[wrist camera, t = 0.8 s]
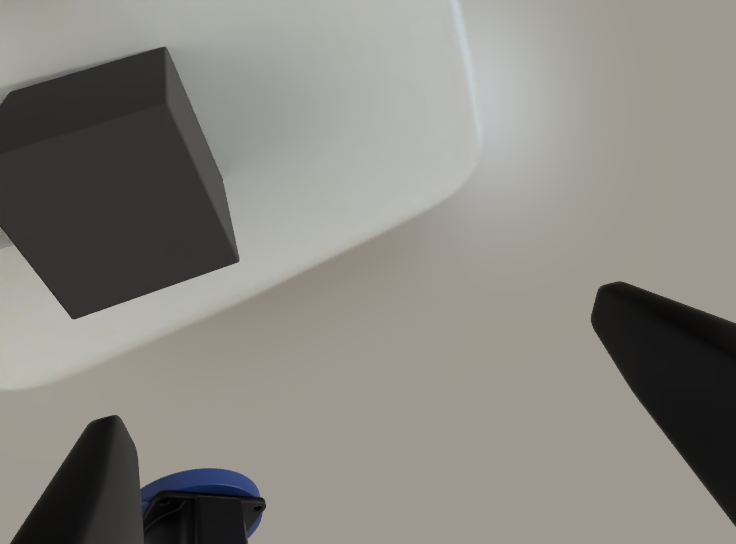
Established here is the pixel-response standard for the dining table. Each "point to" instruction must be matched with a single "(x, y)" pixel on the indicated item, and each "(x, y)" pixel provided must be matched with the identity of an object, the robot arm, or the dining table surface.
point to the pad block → (111, 184)
